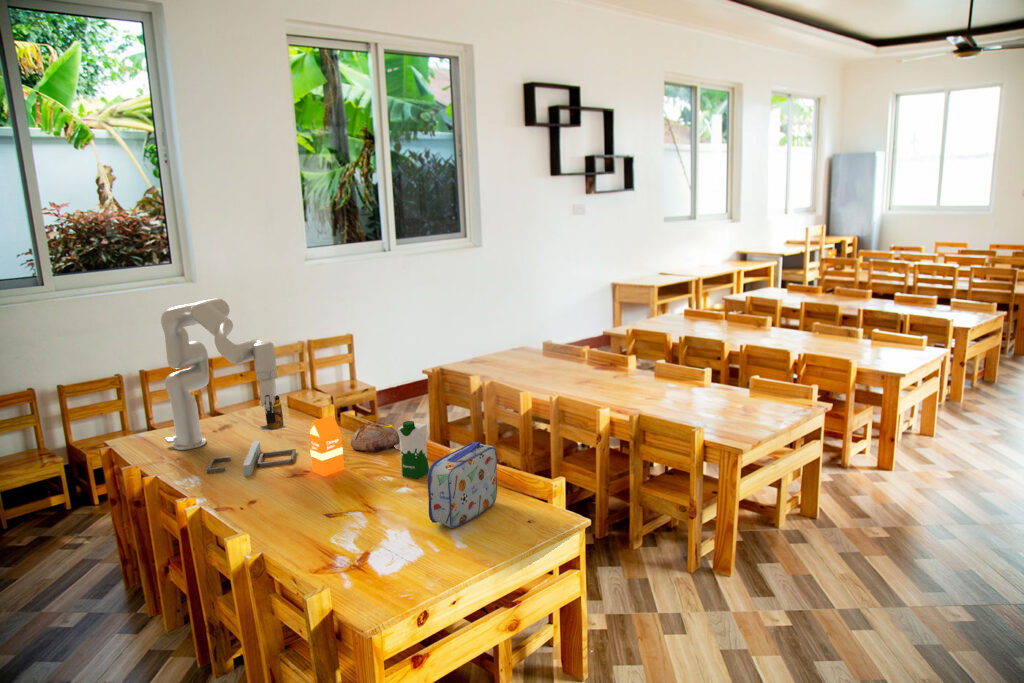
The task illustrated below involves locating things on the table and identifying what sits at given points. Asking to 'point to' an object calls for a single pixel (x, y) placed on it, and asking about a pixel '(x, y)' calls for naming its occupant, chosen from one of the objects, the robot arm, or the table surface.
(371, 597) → the table surface
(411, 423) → the milk carton
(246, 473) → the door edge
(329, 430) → the orange juice
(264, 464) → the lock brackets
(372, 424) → the bread
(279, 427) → the condiment
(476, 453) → the lunch box
